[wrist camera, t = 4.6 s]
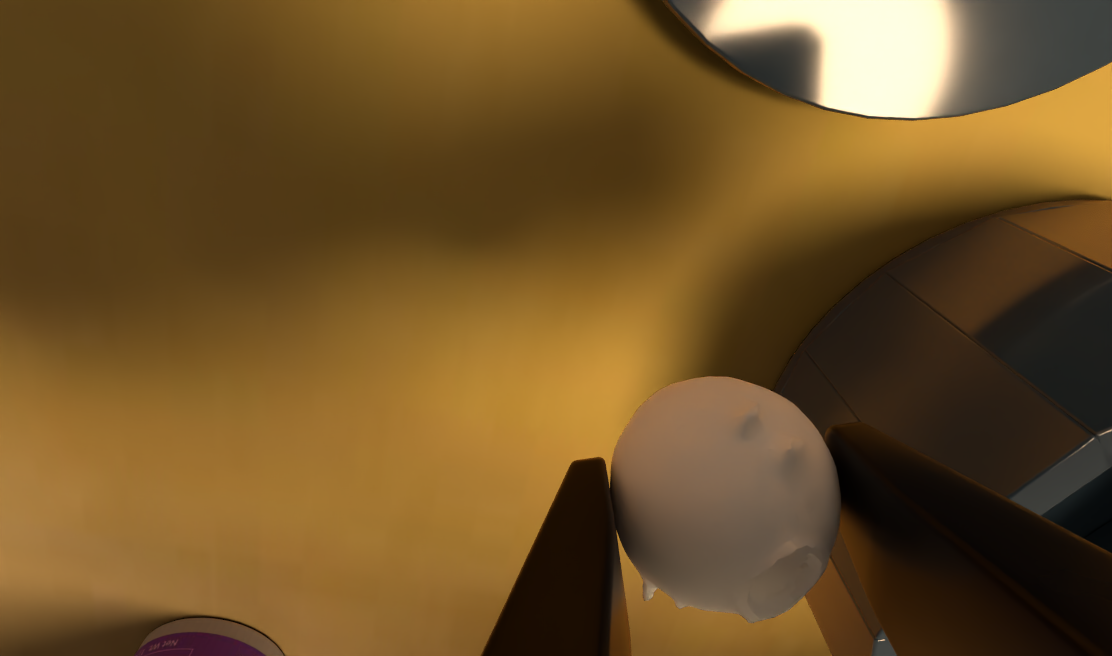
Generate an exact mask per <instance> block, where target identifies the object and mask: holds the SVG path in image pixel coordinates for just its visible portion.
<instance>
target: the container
mask: <svg viewBox="0 0 1112 656" xmlns="http://www.w3.org/2000/svg"><path fill="white" fill-rule="evenodd" d="M134 656H284V655H283V653H282V652H281V651H280V649H279V648H278V647H277V646H276V645H275V644H274V643H273V642H272V641H270V640H269V639H268V638H267V637H265V636H264V635H262V634H261V633H259V632H257V631H255V630H253V629H251V628H248V627H246V626H243V625H241V624H238V623H234V622H230V621H226V620H221V619H214V618H188V619H181V620H176V621H173V622H170V623H167V624H164V625H162V626H160V627H158V628H156V629H155V630H153V631H152V632H151V633H150V634H149V635H148V636H147V637H146V638H145V640H144V641H143V643H142V644H141V646H140V647H139V649H138V651H137V652H136V654H135V655H134Z"/></svg>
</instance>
